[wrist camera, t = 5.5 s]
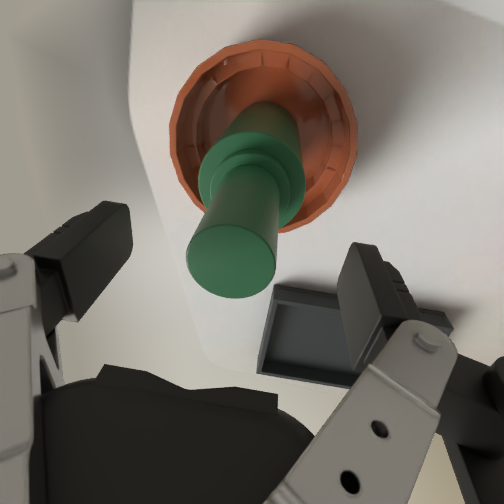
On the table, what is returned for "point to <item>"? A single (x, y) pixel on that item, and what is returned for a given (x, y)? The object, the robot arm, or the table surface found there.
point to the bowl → (276, 91)
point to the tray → (313, 338)
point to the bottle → (247, 201)
